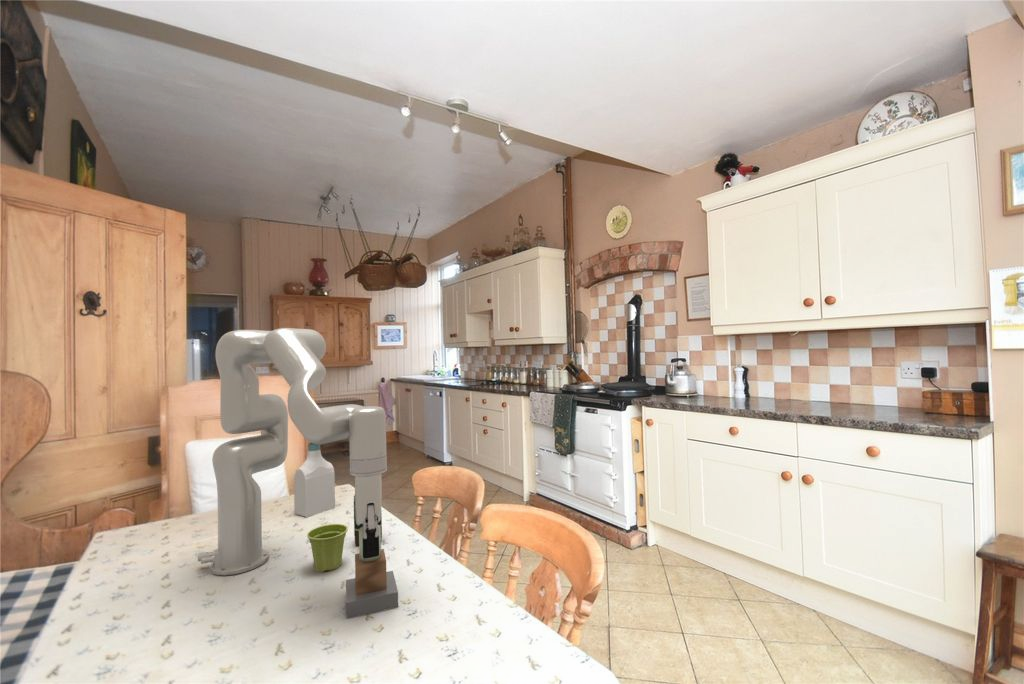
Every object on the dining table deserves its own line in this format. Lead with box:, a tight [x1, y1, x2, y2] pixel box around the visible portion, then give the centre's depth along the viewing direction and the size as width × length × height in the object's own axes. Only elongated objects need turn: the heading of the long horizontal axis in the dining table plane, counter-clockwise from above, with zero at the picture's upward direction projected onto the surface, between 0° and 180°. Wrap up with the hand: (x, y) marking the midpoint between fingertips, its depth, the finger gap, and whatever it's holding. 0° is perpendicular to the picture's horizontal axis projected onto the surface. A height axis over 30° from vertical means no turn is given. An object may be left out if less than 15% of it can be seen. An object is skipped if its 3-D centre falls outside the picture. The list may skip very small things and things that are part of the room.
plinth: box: [345, 570, 399, 620], centre depth 93 cm, size 10×10×3 cm
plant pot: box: [306, 523, 349, 572], centre depth 110 cm, size 9×9×9 cm
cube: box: [354, 548, 387, 596], centre depth 94 cm, size 6×6×6 cm
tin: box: [358, 525, 382, 562], centre depth 94 cm, size 4×4×6 cm
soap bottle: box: [293, 442, 336, 518], centre depth 151 cm, size 11×8×27 cm
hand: (370, 550), depth 94 cm, fingers open, 5 cm apart
